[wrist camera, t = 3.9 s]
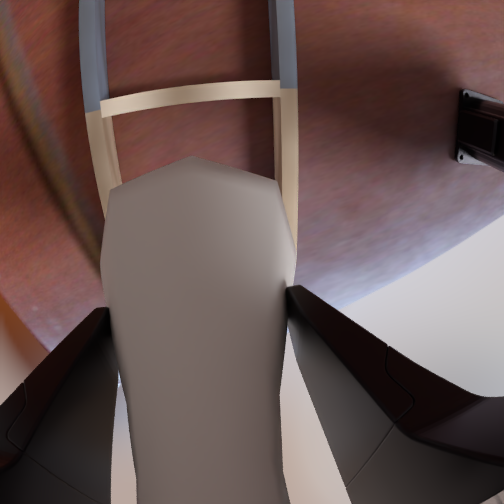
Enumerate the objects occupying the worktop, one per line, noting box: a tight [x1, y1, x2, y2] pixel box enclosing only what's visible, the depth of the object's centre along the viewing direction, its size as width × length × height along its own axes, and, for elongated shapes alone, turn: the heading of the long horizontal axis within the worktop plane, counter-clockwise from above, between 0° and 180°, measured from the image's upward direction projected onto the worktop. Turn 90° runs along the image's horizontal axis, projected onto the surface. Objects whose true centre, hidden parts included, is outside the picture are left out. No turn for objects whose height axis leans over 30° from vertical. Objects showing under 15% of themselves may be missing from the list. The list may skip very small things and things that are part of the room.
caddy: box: [79, 0, 298, 256], centre depth 16 cm, size 12×23×2 cm, turn 2°
